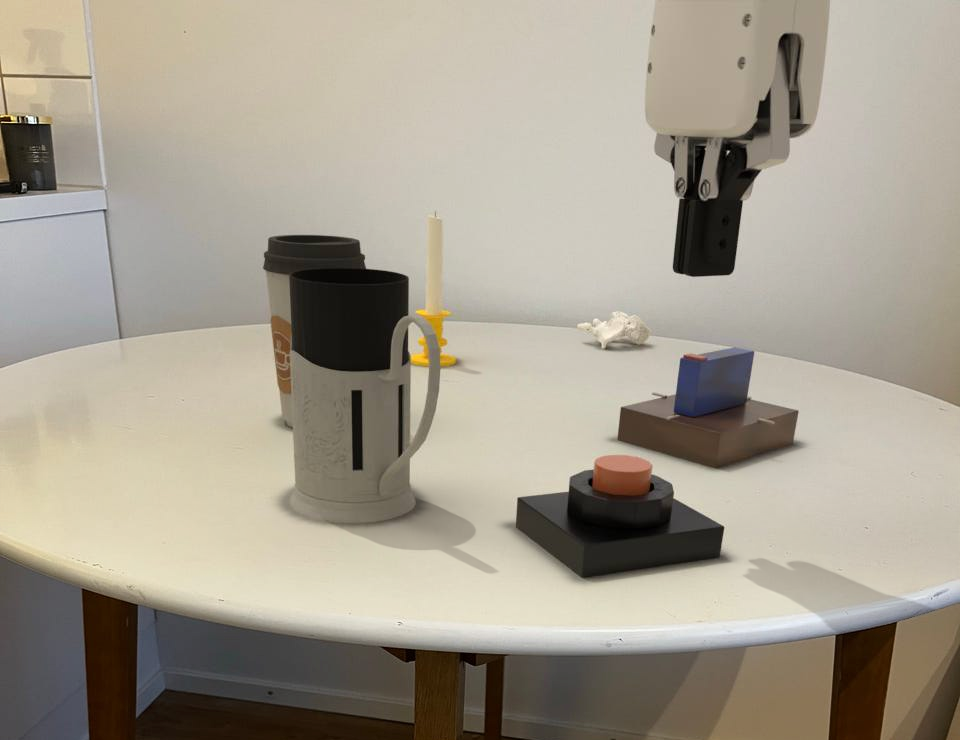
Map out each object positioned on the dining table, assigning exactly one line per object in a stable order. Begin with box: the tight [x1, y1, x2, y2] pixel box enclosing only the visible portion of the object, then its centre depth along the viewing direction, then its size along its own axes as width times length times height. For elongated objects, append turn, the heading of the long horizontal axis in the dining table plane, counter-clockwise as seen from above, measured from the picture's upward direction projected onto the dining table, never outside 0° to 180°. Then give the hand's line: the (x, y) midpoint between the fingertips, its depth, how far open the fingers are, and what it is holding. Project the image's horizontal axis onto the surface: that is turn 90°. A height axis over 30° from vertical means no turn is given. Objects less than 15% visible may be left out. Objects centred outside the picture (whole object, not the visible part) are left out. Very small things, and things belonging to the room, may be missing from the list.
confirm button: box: [592, 454, 653, 496], centre depth 64 cm, size 4×4×2 cm
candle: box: [410, 210, 457, 368], centre depth 109 cm, size 5×5×16 cm
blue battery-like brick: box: [674, 346, 755, 417], centre depth 85 cm, size 8×2×5 cm, turn 134°
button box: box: [515, 469, 725, 579], centre depth 65 cm, size 10×9×4 cm
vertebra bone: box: [577, 310, 652, 350], centre depth 125 cm, size 8×4×7 cm
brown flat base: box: [617, 391, 799, 469], centre depth 87 cm, size 12×12×3 cm
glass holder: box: [289, 268, 442, 524], centre depth 65 cm, size 9×14×15 cm, turn 37°
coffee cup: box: [262, 234, 367, 429], centre depth 85 cm, size 8×8×15 cm
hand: (702, 273), depth 59 cm, fingers closed
